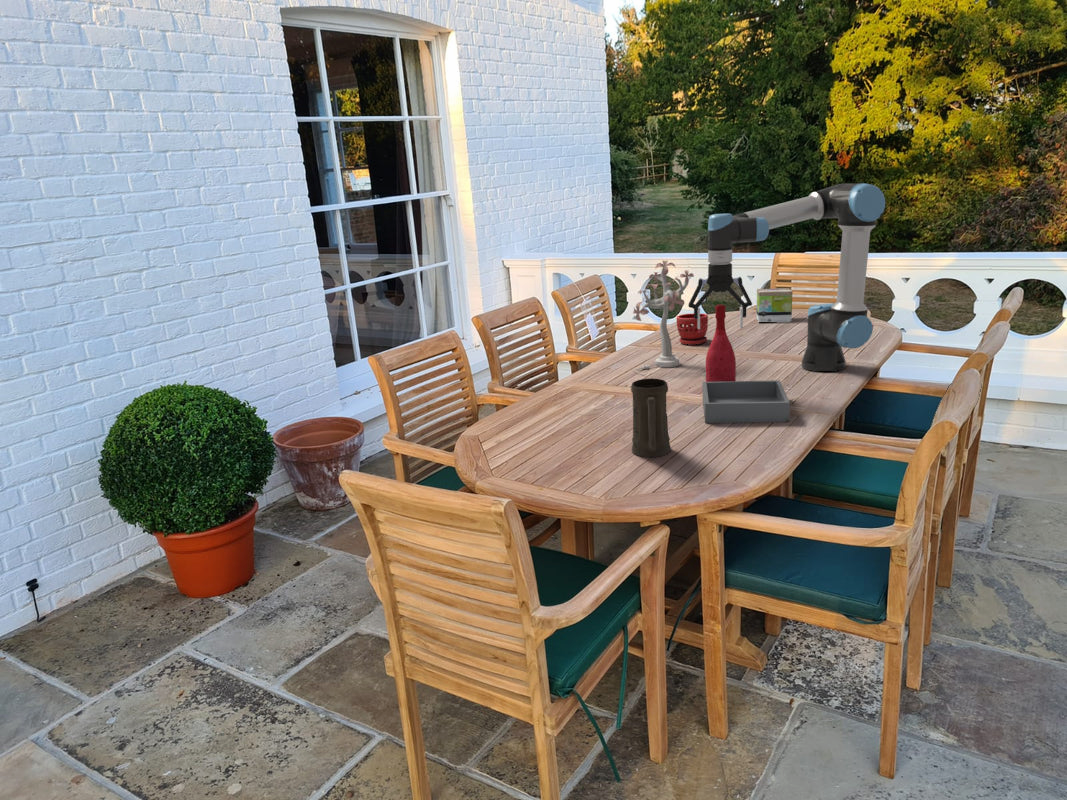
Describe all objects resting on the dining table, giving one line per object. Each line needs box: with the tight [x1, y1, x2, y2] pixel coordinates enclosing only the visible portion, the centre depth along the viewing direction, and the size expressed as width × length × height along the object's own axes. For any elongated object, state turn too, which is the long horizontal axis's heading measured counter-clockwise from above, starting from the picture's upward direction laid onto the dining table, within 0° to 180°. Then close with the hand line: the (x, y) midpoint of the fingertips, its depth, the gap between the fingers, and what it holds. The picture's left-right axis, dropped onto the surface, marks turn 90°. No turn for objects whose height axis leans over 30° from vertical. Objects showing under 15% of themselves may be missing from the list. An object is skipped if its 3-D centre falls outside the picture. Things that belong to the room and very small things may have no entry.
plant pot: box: [676, 312, 709, 346], centre depth 342 cm, size 13×13×12 cm
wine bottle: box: [705, 303, 737, 382], centre depth 266 cm, size 10×10×30 cm
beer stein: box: [630, 378, 672, 458], centre depth 217 cm, size 15×11×20 cm
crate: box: [702, 379, 791, 424], centre depth 250 cm, size 24×24×6 cm
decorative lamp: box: [632, 259, 695, 377], centre depth 304 cm, size 28×24×40 cm
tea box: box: [755, 287, 793, 323], centre depth 372 cm, size 15×10×15 cm, turn 81°
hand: (719, 327), depth 264 cm, fingers open, 13 cm apart
